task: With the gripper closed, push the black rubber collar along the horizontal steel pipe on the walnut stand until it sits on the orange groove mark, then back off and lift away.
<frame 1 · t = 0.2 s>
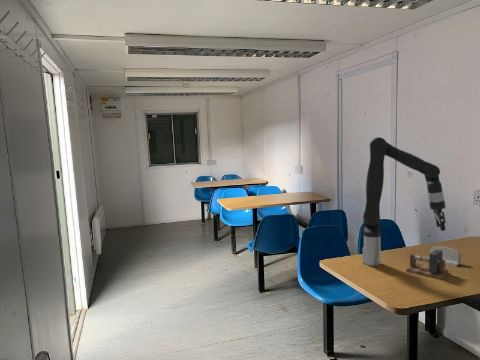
hand: (441, 228, 190), 23 cm above the table, tool pointing down, fingers open, 8 cm apart
collar: (436, 261, 184), point 7 cm above the table, slide at 4.5 cm
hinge: (444, 262, 201), on the table
pipe stand: (427, 271, 188), on the table
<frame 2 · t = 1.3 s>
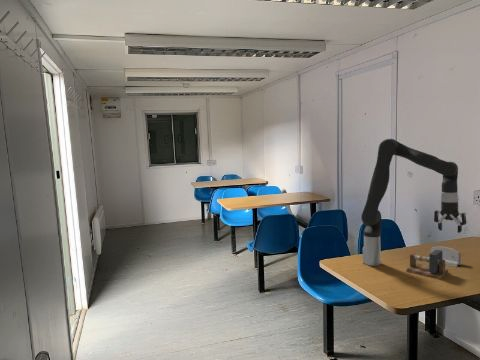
hand: (449, 231, 178), 24 cm above the table, tool pointing down, fingers open, 8 cm apart
nothing on the table moved.
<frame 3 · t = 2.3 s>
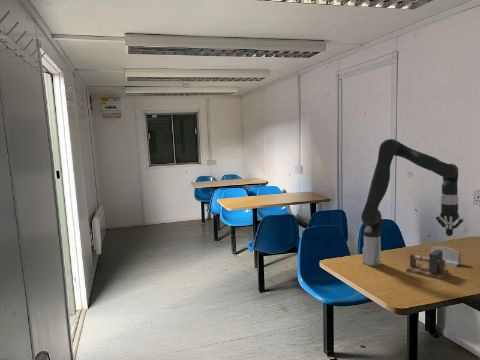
hand: (449, 235, 177), 22 cm above the table, tool pointing down, fingers closed
nothing on the table moved.
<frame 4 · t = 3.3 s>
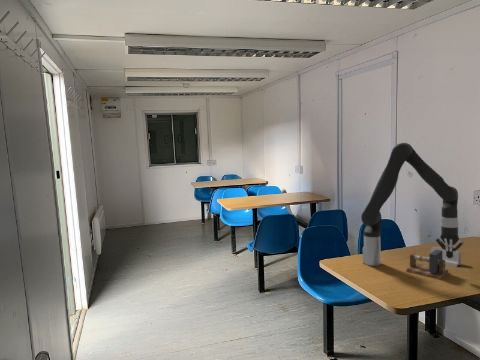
hand: (449, 257, 178), 10 cm above the table, tool pointing down, fingers closed
nothing on the table moved.
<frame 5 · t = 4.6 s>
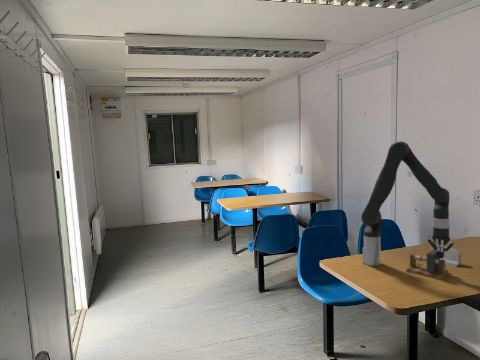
hand: (440, 258, 182), 9 cm above the table, tool pointing down, fingers closed
collar: (433, 260, 185), point 7 cm above the table, slide at 3.2 cm, touching gripper
everything else where it was.
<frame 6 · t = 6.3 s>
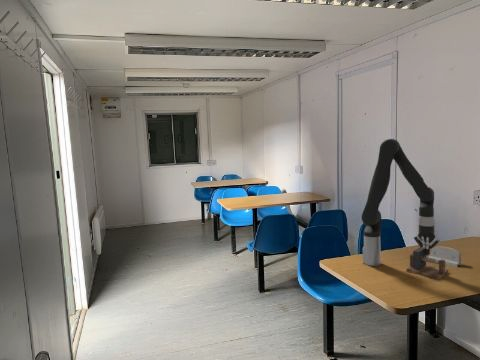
hand: (426, 255, 187), 9 cm above the table, tool pointing down, fingers closed
collar: (419, 258, 190), point 7 cm above the table, slide at -3.8 cm, touching gripper
everything else where it was.
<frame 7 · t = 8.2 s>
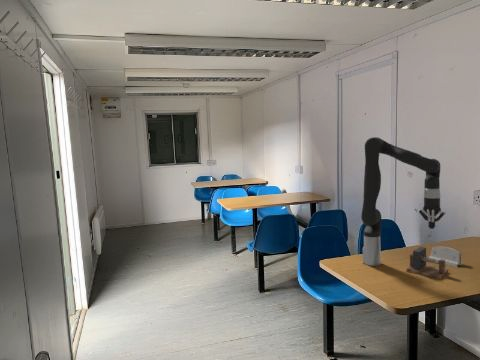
hand: (431, 228, 183), 25 cm above the table, tool pointing down, fingers closed
collar: (419, 258, 190), point 7 cm above the table, slide at -3.8 cm
everything else where it was.
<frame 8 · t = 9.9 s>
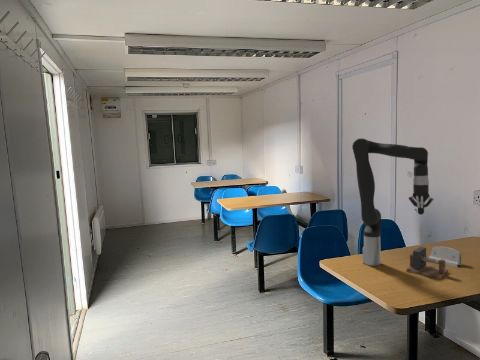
hand: (421, 214, 191), 31 cm above the table, tool pointing down, fingers closed
nothing on the table moved.
at the end: collar slide at -3.8 cm; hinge moved 0.6 cm from its start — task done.
